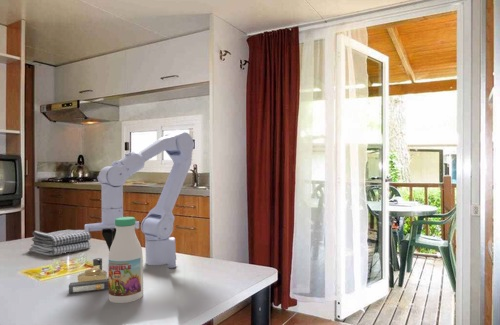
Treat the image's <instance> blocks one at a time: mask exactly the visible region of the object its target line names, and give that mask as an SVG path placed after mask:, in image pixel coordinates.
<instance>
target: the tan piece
mask: <svg viewBox="0 0 500 325" xmlns="http://www.w3.org/2000/svg"><path fill="white" fill-rule="evenodd" d="M107 273H108V272H107V271H106V270H103V258H100V257H98V258H93V259H92V268H90V269H86V270H85V271H84V272H81V273H79V274H78V275H77V282H83V281H93V280H102V279H108V274H107Z"/></svg>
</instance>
